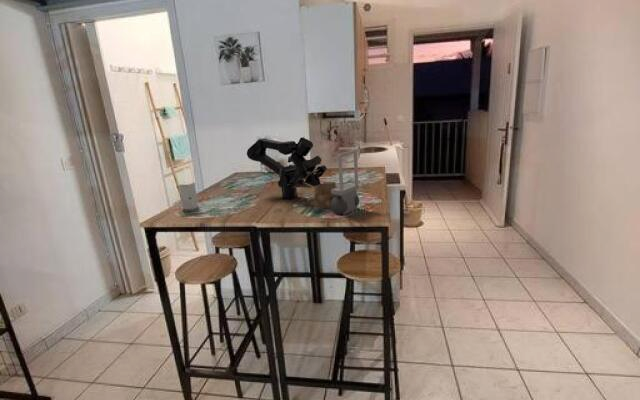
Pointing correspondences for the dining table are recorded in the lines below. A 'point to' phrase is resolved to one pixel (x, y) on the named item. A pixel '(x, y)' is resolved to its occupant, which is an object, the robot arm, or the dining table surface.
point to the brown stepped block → (323, 195)
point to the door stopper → (300, 179)
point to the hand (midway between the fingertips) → (321, 188)
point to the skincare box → (188, 195)
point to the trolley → (345, 189)
